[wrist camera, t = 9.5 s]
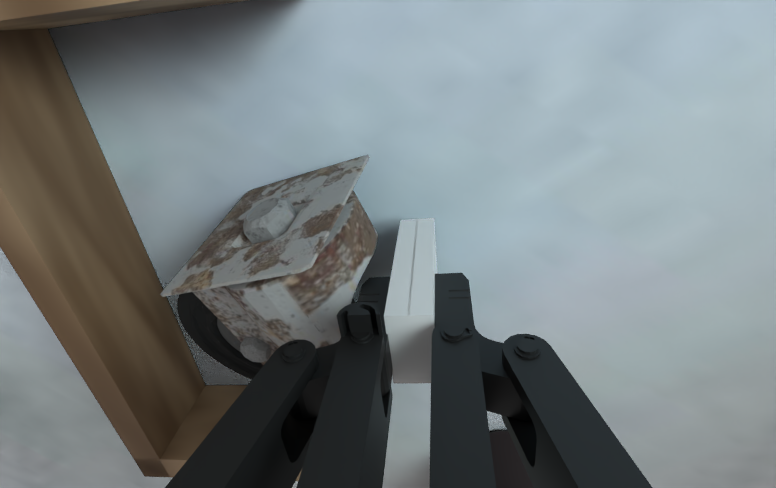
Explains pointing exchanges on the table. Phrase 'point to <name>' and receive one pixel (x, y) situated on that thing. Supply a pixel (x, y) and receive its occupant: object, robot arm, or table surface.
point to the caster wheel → (277, 268)
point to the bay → (93, 243)
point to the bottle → (507, 462)
